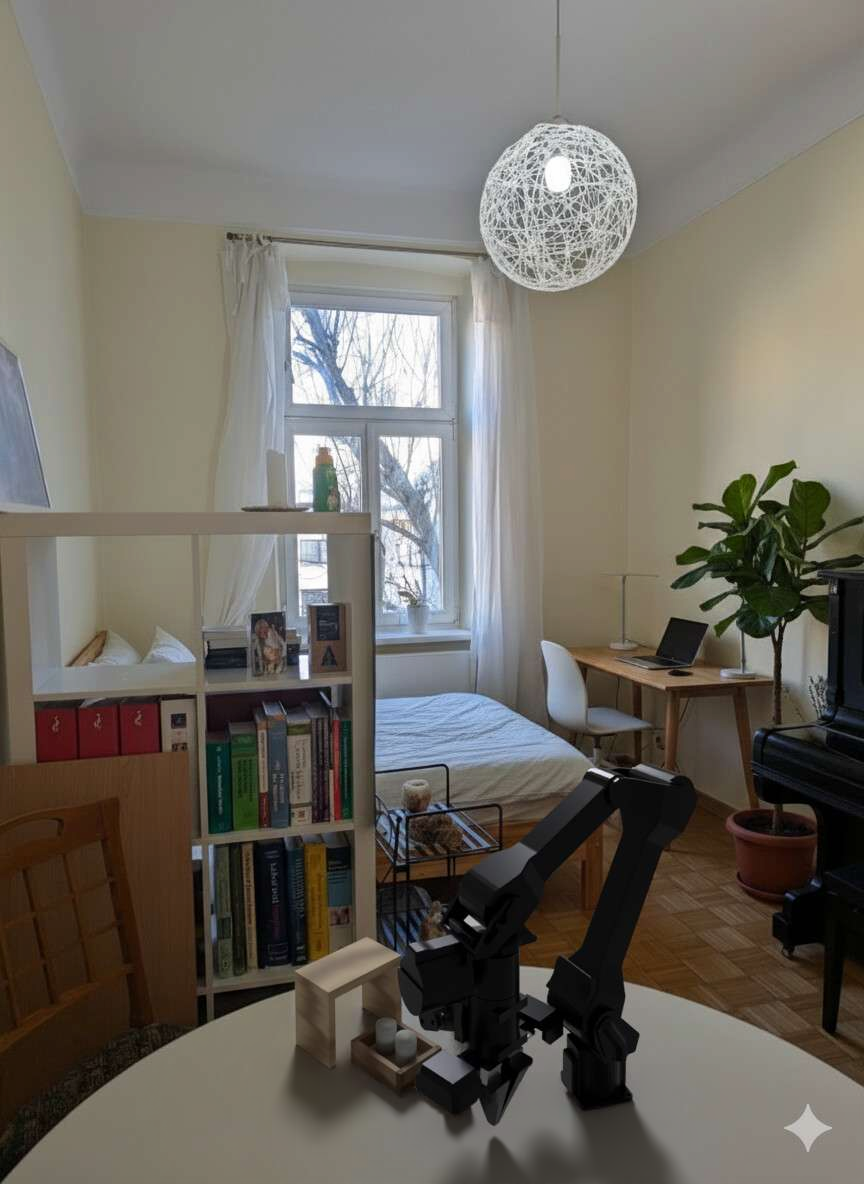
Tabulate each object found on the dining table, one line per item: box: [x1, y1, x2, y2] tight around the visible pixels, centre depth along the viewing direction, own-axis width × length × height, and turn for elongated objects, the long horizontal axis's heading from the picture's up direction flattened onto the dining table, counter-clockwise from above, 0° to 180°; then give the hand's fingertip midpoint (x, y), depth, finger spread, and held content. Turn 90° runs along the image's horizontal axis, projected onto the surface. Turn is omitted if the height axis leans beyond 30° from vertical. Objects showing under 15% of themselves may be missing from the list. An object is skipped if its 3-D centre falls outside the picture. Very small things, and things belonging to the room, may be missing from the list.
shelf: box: [294, 936, 403, 1069], centre depth 105 cm, size 7×12×10 cm, turn 135°
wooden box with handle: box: [350, 1016, 455, 1117], centre depth 96 cm, size 16×7×5 cm, turn 45°
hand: (493, 1122), depth 88 cm, fingers closed
